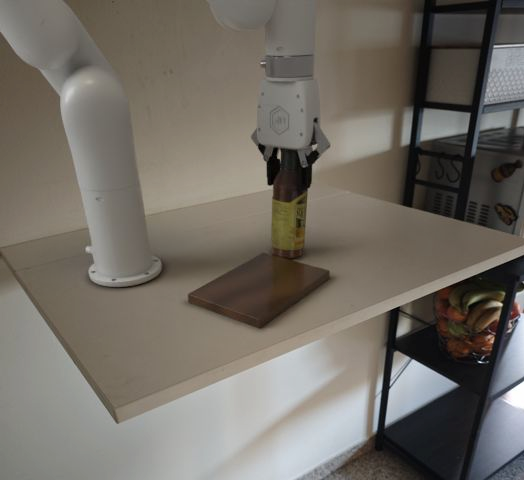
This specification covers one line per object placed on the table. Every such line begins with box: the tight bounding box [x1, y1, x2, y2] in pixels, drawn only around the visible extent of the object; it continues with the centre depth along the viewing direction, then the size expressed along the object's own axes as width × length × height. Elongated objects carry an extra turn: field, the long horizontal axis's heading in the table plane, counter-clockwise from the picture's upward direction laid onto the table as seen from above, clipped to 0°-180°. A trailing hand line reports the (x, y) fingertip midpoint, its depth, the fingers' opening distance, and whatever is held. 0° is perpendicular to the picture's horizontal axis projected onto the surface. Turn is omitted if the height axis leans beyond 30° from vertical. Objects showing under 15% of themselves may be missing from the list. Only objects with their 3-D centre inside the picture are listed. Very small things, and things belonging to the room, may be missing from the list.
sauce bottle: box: [270, 148, 309, 260], centre depth 89 cm, size 7×6×20 cm
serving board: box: [187, 252, 331, 329], centre depth 81 cm, size 14×20×2 cm
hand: (288, 185), depth 87 cm, fingers closed on sauce bottle, 5 cm apart
